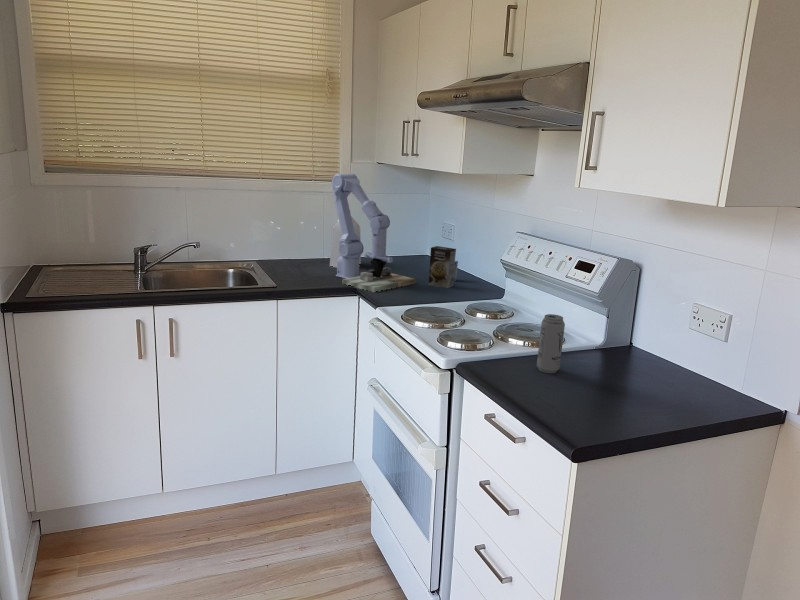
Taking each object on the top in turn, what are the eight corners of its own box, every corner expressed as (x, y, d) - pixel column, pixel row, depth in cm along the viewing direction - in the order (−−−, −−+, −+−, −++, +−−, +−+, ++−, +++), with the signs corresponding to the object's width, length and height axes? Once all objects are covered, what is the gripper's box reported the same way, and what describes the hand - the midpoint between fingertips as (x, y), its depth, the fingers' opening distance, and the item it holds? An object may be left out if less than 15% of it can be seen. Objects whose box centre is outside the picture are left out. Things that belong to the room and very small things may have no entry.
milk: (353, 268, 279) (354, 212, 273) (329, 266, 282) (330, 210, 275) (360, 264, 291) (362, 210, 284) (338, 262, 293) (339, 208, 287)
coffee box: (427, 285, 254) (430, 247, 250) (434, 282, 260) (436, 245, 256) (447, 288, 250) (450, 250, 246) (453, 285, 256) (456, 248, 252)
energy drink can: (555, 375, 160) (562, 321, 156) (533, 370, 162) (539, 317, 159) (561, 369, 165) (568, 316, 161) (540, 364, 168) (545, 312, 164)
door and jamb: (342, 284, 249) (342, 272, 248) (384, 276, 268) (384, 264, 267) (373, 292, 238) (374, 280, 237) (415, 283, 256) (415, 272, 255)
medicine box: (437, 280, 265) (438, 260, 263) (439, 278, 269) (440, 258, 267) (455, 281, 263) (456, 262, 261) (456, 279, 268) (458, 260, 265)
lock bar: (387, 273, 260) (387, 266, 260) (392, 274, 258) (392, 268, 258) (367, 276, 252) (367, 269, 252) (372, 277, 250) (372, 271, 250)
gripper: (359, 243, 250) (359, 275, 254) (384, 248, 241) (383, 281, 244) (372, 241, 255) (371, 273, 259) (397, 246, 246) (395, 279, 249)
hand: (377, 277), depth 252 cm, fingers closed
